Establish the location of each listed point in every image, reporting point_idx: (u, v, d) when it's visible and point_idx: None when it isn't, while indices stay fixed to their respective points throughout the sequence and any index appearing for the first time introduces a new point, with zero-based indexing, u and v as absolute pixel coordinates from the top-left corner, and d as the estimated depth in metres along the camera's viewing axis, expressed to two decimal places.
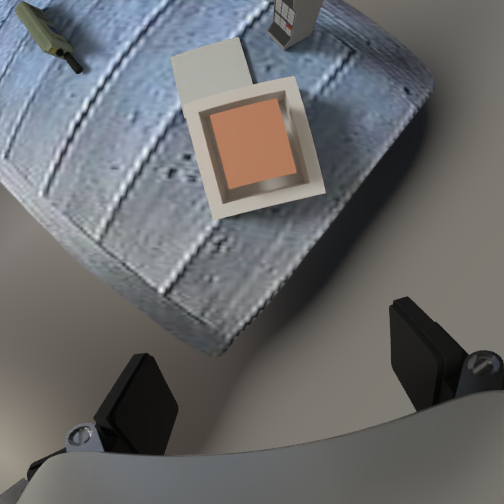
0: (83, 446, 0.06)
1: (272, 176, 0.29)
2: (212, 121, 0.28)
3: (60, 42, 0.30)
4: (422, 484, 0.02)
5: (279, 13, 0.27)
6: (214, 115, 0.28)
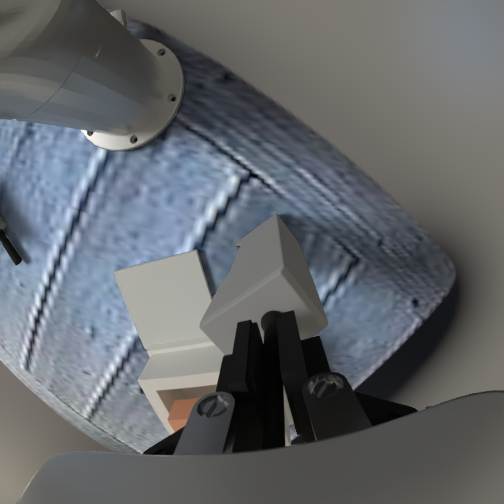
0: (208, 420, 0.07)
1: None
2: (171, 424, 0.24)
3: None
4: (422, 484, 0.02)
5: None
6: (172, 420, 0.24)
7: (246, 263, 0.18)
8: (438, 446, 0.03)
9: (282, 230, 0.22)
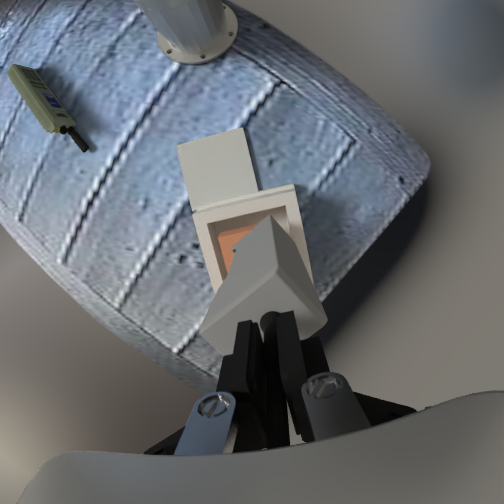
0: (209, 420, 0.07)
1: None
2: (220, 243, 0.35)
3: (62, 119, 0.37)
4: (422, 484, 0.02)
5: None
6: (222, 238, 0.35)
7: (242, 266, 0.18)
8: (438, 446, 0.03)
9: (276, 230, 0.22)
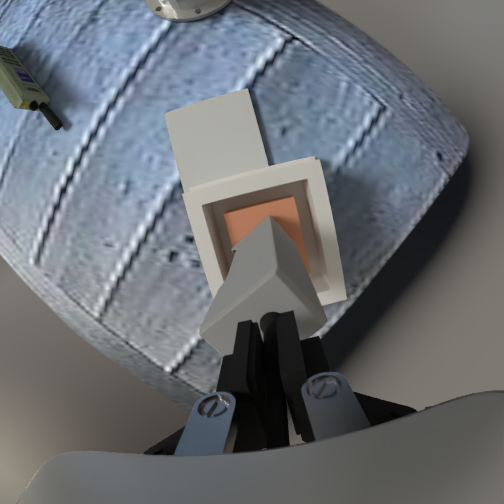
0: (209, 420, 0.07)
1: None
2: (226, 221, 0.29)
3: (32, 93, 0.27)
4: (422, 484, 0.02)
5: None
6: (228, 214, 0.29)
7: (242, 267, 0.18)
8: (438, 446, 0.03)
9: (276, 231, 0.22)
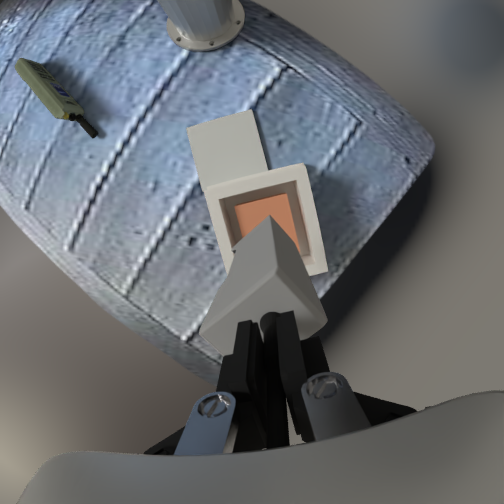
0: (209, 420, 0.07)
1: None
2: (236, 211, 0.39)
3: (71, 106, 0.37)
4: (422, 484, 0.02)
5: None
6: (238, 206, 0.39)
7: (242, 267, 0.18)
8: (438, 446, 0.03)
9: (276, 231, 0.22)
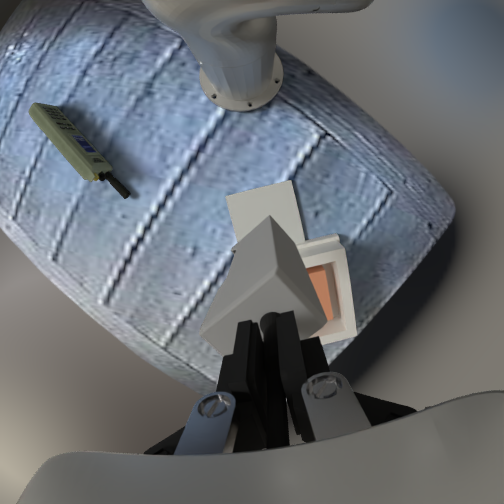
0: (209, 420, 0.07)
1: None
2: None
3: (99, 165, 0.40)
4: (422, 484, 0.02)
5: None
6: None
7: (242, 267, 0.18)
8: (438, 446, 0.03)
9: (276, 231, 0.22)
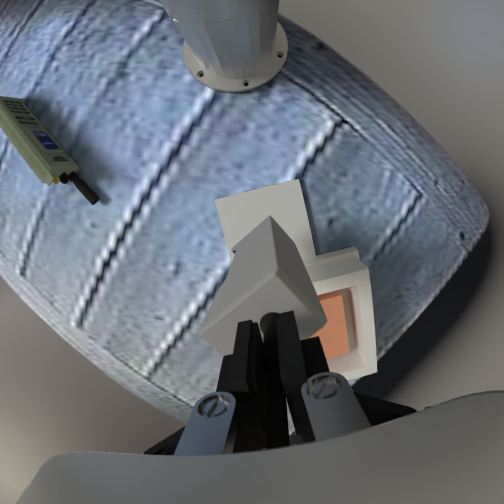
0: (209, 420, 0.07)
1: (329, 356, 0.34)
2: None
3: (61, 165, 0.31)
4: (422, 484, 0.02)
5: None
6: None
7: (242, 267, 0.18)
8: (438, 446, 0.03)
9: (276, 231, 0.22)
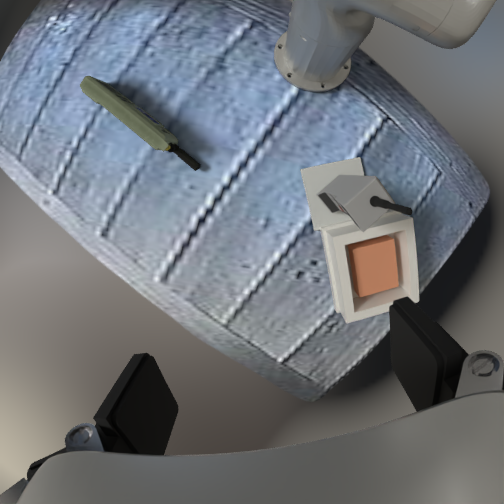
0: (83, 446, 0.06)
1: (385, 289, 0.44)
2: (354, 254, 0.43)
3: (169, 136, 0.41)
4: (422, 484, 0.02)
5: (334, 199, 0.39)
6: (355, 249, 0.43)
7: (346, 188, 0.34)
8: (438, 446, 0.03)
9: None
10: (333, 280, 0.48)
